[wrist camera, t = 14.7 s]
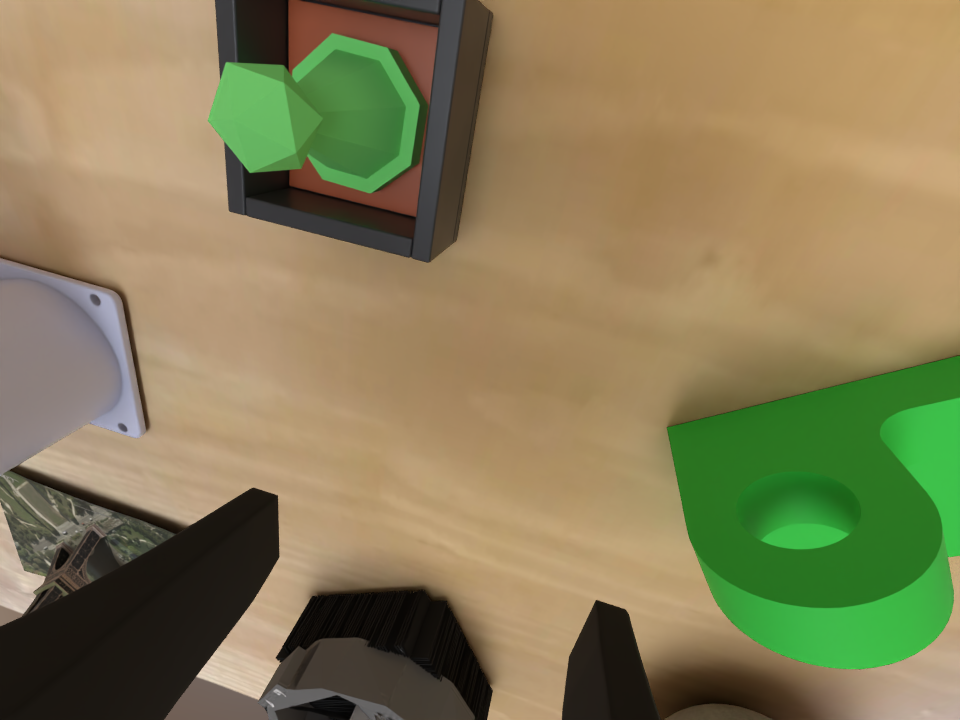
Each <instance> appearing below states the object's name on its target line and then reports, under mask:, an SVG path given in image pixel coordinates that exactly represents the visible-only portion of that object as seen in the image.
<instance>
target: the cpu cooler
mask: <svg viewBox="0 0 960 720" xmlns="http://www.w3.org/2000/svg"><path fill="white" fill-rule="evenodd" d="M448 606H449V605H447V601H432V602H431V600H430V599H429V597H428V595H427V594H426V592H425V590H424V591H423V590H421V591H420V590H419V591H414V593H413V591H411V593H410V591H404V592H403V591H399V592H397V593H396V591H394V592H393V591H392V592H391V591H390V592H384V593H383V592H382V593H381V592H379V593H378V594H377V593H375V594H374V592H372V593H371V594H369V593H365V595H364V593H363V594H362V593H361V594H358V593H357V595H356V594H355V593H354V594H347V595H344V594H343V596H342V594H341V596H340V594H338V595H337V594H336V595H329V596H326V595H325V596H324V595H323V596H322V595H321V597H320V595H319V596H318V597H317V596H312V598H311V599H310V601H309V603H308V604H307V606H306V608H305V609H304V611H303V613H302V614H301V616H300V618H299V619H298V621H297V623H296V624H295V626H294V628H293V630H292V631H291V633H290V635H289V636H288V638H287V640H286V641H285V643H284V645H283V646H282V649H281V650H280V652H279V653H278V655H277V657H276V659H277V660H278V661H279V660H280V662H282V663H281V664H280V665H279V667H278V668H277V670H276V672H275V674H274V675H273V677H272V679H271V680H270V682H269V684H268V686H267V687H266V689H265V691H264V692H263V694H262V696H261V698H260V699H259V701H258V704H260V705H261V706H262V707H264V708H265V710H266V711H267V713H268V717H269V720H487V717H488V712H489V707H490V702H491V697H492V692H493V690H492V688H491V687H490V685H489V684H488V682H487V680H486V677H485V676H484V673H482V671H481V670H482V669H481V668H480V666H479V664H478V662H477V659H476V657H474V655H473V654H474V653H473V651H472V649H470V648H469V647H470V646H468V644H467V641H466V638H465V637H464V634H463V632H462V631H461V628H460V626H459V625H458V623H456V622H457V621H456V619H455V617H454V615H453V613H452V611H450V610H451V609H450V608H448Z"/></svg>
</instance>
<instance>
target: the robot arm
mask: <svg viewBox="0 0 960 720" xmlns="http://www.w3.org/2000/svg"><path fill="white" fill-rule="evenodd" d="M88 423H90V424H93V425H96V426H99V427H102V428H105V429H108V430H111V431H114V432H118V433H121V434H124V435H127V436H130V437H133V438H139V437H141V436H142V435H144V434H145V433H146V427H145V421H144V416H143V411H142V405H141V400H140V394H139V389H138V384H137V378H136V373H135V368H134V362H133V357H132V352H131V346H130V341H129V336H128V330H127V325H126V319H125V314H124V309H123V303H122V300H121V298H120V296H119V295H118V294H117V293H116V292H114V291H112V290H110V289H107V288H103V287H100V286H96V285H93V284H89V283H86V282H82V281H79V280H75V279H72V278H68V277H65V276H61V275H58V274H54V273H51V272H47V271H44V270H40V269H37V268H33V267H30V266H26V265H23V264H19V263H16V262H12V261H9V260H5V259H2V258H0V475H2V474H3V473H5V472H7V471H9V470H10V469H12V468H14V467H15V466H17V465H19V464H20V463H22V462H24V461H25V460H27V459H29V458H31V457H32V456H34V455H36V454H37V453H39V452H41V451H42V450H44V449H46V448H47V447H49V446H51V445H53V444H54V443H56V442H58V441H59V440H61V439H63V438H64V437H66V436H68V435H69V434H71V433H73V432H75V431H76V430H78V429H80V428H81V427H83V426H85V425H86V424H88ZM278 558H279V522H278V495H275V494H272V493H269V492H265V491H262V490H259V489H256V488H251V489H249V490H248V491H246V492H244V493H243V494H241V495H239V496H238V497H236V498H235V499H233V500H231V501H230V502H228V503H227V504H225V505H223V506H222V507H220V508H218V509H217V510H215V511H214V512H212V513H210V514H209V515H207V516H206V517H204V518H202V519H201V520H199V521H197V522H196V523H194V524H192V525H191V526H189V527H188V528H186V529H184V530H183V531H181V532H179V533H178V534H176V535H174V536H172V537H171V538H169V539H167V540H166V541H164V542H162V543H161V544H159V545H157V546H156V547H154V548H152V549H150V550H149V551H147V552H145V553H144V554H142V555H140V556H138V557H137V558H135V559H133V560H131V561H129V562H128V563H126V564H124V565H122V566H120V567H118V568H117V569H115V570H113V571H111V572H109V573H107V574H106V575H104V576H102V577H100V578H98V579H96V580H95V581H93V582H91V583H89V584H87V585H85V586H83V587H81V588H79V589H77V590H75V591H74V592H72V593H70V594H68V595H66V596H64V597H62V598H60V599H58V600H56V601H54V602H52V603H50V604H48V605H45V606H43V607H41V608H39V609H37V610H35V611H33V612H31V613H29V614H27V615H24V616H22V617H21V618H18V619H16V620H14V621H12V622H9V623H7V624H5V625H3V626H0V720H164V719H165V718H166V716H167V715H168V713H169V712H170V711H171V709H172V708H173V706H174V705H175V704H176V702H177V701H178V699H179V698H180V697H181V695H182V694H183V693H184V692H185V690H186V689H187V688H188V686H189V685H190V684H191V682H192V681H193V680H194V678H195V677H196V676H197V675H198V673H199V672H200V671H201V669H202V668H203V667H204V665H205V664H206V663H207V661H208V660H209V659H210V657H211V656H212V655H213V654H214V652H215V651H216V650H217V648H218V647H219V646H220V644H221V643H222V642H223V640H224V639H225V638H226V636H227V635H228V634H229V632H230V631H231V630H232V628H233V627H234V626H235V624H236V623H237V622H238V620H239V619H240V618H241V616H242V615H243V614H244V612H245V611H246V610H247V608H248V607H249V606H250V604H251V603H252V602H253V600H254V599H255V597H256V595H257V594H258V592H259V590H260V589H261V587H262V586H263V584H264V582H265V581H266V579H267V577H268V576H269V574H270V572H271V570H272V569H273V567H274V565H275V564H276V562H277V560H278ZM562 720H661V718H660V716H659V713H658V710H657V707H656V704H655V701H654V698H653V695H652V692H651V689H650V686H649V683H648V679H647V676H646V673H645V670H644V667H643V663H642V660H641V657H640V653H639V650H638V646H637V643H636V639H635V636H634V632H633V629H632V625H631V621H630V617H629V614H628V613H627V611H626V610H625V609H622V608H619V607H616V606H613V605H610V604H607V603H604V602H601V601H598V600H596V601H595V604H594V606H593V608H592V610H591V612H590V614H589V616H588V618H587V620H586V622H585V625H584V627H583V629H582V631H581V633H580V635H579V637H578V639H577V641H576V643H575V646H574V648H573V650H572V652H571V654H570V656H569V662H568V670H567V678H566V685H565V694H564V702H563V711H562Z"/></svg>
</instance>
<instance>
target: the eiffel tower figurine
mask: <svg viewBox="0 0 960 720" xmlns="http://www.w3.org/2000/svg"><path fill="white" fill-rule="evenodd" d="M0 502H1V505H2V508H3V511H4V514H5V516H6V519H7V522H8V525H9V528H10V531H11V534H12V537H13V540H14V543H15V546H16V549H17V552H18V555H19V558H20V560H21V563H22V566H23V568H24V571H27V572H31V573H34V574H38V575H42V576H45V577H46V578H45V581H44V583H43V585H41V586H40V587H39V588H38V589H37V590H35V591H34V592H33V593H34V594H36V595H37V596H36V598H35V599H34V601H33V602H32V604H31V605H30V607H29V608H28V609H27V610H26V612H25V613H24V614H23V616H24V615H27V614H29V613H31V612H33V611H35V610H37V609H39V608H41V607H43V606H45V605H48V604H50V603H52V602H54V601H56V600H58V599H60V598H62V597H64V596H66V595H68V594H70V593H72V592H74V591H75V590H77V589H79V588H81V587H83V586H85V585H87V584H89V583H91V582H93V581H95V580H96V579H98V578H100V577H102V576H104V575H106V574H107V573H109V572H111V571H113V570H115V569H117V568H118V567H120V566H122V565H124V564H126V563H128V562H129V561H131V560H133V559H135V558H137V557H138V556H140V555H142V554H144V553H145V552H147V551H149V550H150V549H152V548H154V547H156V546H157V545H159V544H161V543H162V542H164V541H166V540H167V539H169V538H171V537H172V536H174V535H176V534H174V533H172V532H169V531H167V530H164V529H162V528H159V527H157V526H154V525H152V524H149V523H147V522H144V521H141V520H139V519H136V518H133V517H130V516H127V515H124V514H121V513H118V512H115V511H112V510H109V509H106V508H103V507H100V506H97V505H94V504H92V503H89V502H86V501H83V500H81V499H78V498H75V497H73V496H70V495H67V494H65V493H62V492H60V491H57V490H54V489H52V488H49V487H46V486H44V485H42V484H39V483H37V482H34V481H32V480H29V479H27V478H25V477H22V476H20V475H18V474H16V473H14V472H12V471H7V472H5V473H3V474H2V475H0Z"/></svg>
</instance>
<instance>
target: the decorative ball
mask: <svg viewBox="0 0 960 720" xmlns="http://www.w3.org/2000/svg"><path fill="white" fill-rule="evenodd" d="M664 720H773V719H771V718H769V717H766V716H764V715H762V714H760V713H757V712H755V711H753V710H749V709H746V708H743V707H739V706H733V705H728V704H703V705H697V706H692V707H689V708H686V709H683V710H680V711H678V712H676V713H674V714H672V715H671V716H669V717H667V718H666V719H664Z"/></svg>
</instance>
